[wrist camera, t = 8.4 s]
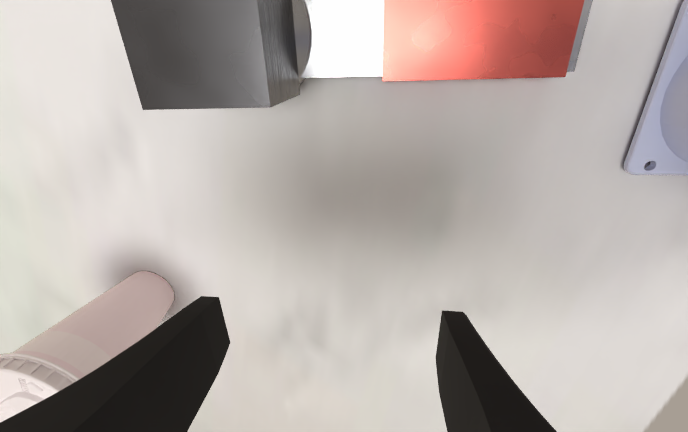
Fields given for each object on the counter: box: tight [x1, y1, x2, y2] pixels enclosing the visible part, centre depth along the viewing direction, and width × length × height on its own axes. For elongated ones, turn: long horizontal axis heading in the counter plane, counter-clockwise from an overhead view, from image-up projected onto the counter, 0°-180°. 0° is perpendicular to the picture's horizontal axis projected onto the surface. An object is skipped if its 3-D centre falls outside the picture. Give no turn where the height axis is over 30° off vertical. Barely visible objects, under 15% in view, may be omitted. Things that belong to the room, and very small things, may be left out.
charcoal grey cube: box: [111, 0, 300, 110], centre depth 13 cm, size 5×5×4 cm
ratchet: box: [292, 0, 593, 85], centre depth 14 cm, size 18×6×4 cm, turn 92°
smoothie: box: [0, 271, 174, 422], centre depth 19 cm, size 6×6×14 cm
